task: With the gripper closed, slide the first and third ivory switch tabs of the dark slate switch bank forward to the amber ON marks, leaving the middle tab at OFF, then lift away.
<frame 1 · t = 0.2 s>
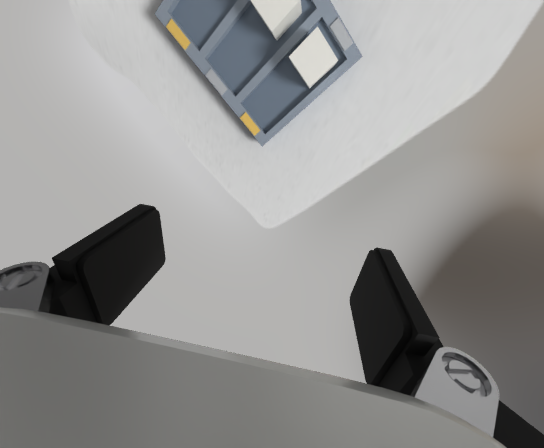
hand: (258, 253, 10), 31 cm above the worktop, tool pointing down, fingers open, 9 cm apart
switch bank: (261, 40, 31), on the worktop
tab 3: (312, 61, 28), point 4 cm above the worktop, slide at 0.0 cm
tab 2: (276, 5, 26), point 4 cm above the worktop, slide at 0.0 cm
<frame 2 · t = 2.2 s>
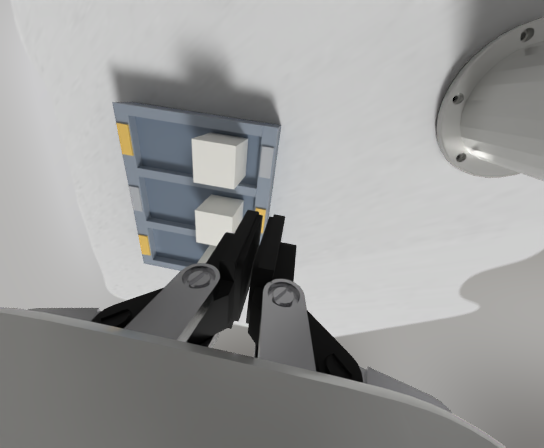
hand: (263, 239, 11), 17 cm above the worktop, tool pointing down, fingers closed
switch bank: (206, 200, 30), on the worktop
tab 1: (221, 159, 22), point 4 cm above the worktop, slide at 0.0 cm
tab 3: (219, 267, 29), point 4 cm above the worktop, slide at 0.0 cm
tab 2: (220, 220, 26), point 4 cm above the worktop, slide at 0.0 cm
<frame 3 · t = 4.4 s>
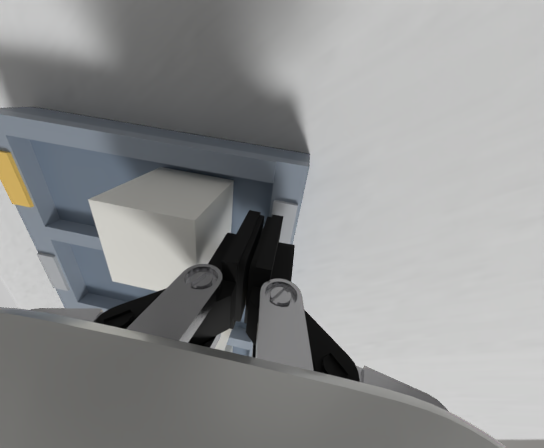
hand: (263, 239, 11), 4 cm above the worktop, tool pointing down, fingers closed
switch bank: (178, 266, 18), on the worktop
tab 1: (177, 226, 11), point 4 cm above the worktop, slide at 0.6 cm, touching gripper
tab 3: (198, 379, 18), point 4 cm above the worktop, slide at 0.0 cm
tab 2: (195, 322, 14), point 4 cm above the worktop, slide at 0.0 cm
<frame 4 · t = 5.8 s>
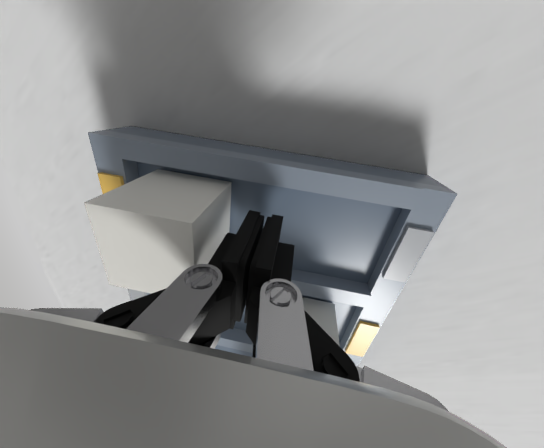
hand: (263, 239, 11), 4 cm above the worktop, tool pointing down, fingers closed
switch bank: (255, 285, 18), on the worktop
tab 1: (175, 229, 11), point 4 cm above the worktop, slide at 7.2 cm, touching gripper
tab 2: (296, 348, 14), point 4 cm above the worktop, slide at 0.0 cm
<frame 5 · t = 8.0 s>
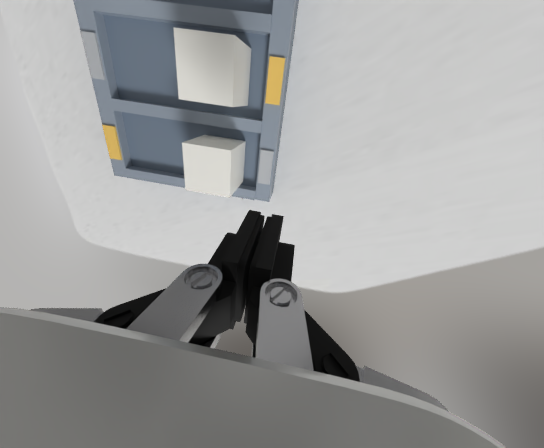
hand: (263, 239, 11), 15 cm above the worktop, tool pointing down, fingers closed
switch bank: (197, 72, 21), on the worktop
tab 3: (216, 164, 21), point 4 cm above the worktop, slide at 0.0 cm
tab 2: (216, 72, 17), point 4 cm above the worktop, slide at 0.0 cm
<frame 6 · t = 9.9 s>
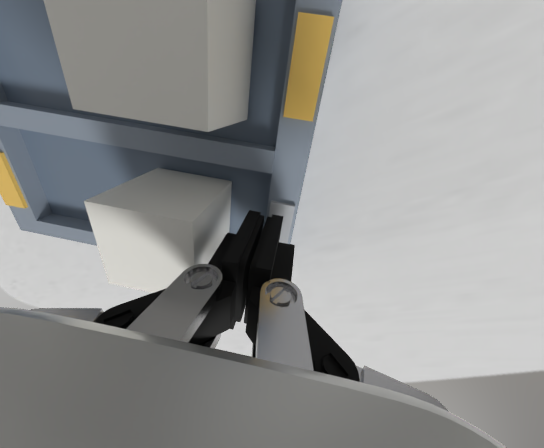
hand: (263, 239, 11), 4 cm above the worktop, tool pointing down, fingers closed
switch bank: (154, 55, 11), on the worktop
tab 3: (175, 228, 11), point 4 cm above the worktop, slide at 0.6 cm, touching gripper
tab 2: (175, 47, 7), point 4 cm above the worktop, slide at 0.0 cm
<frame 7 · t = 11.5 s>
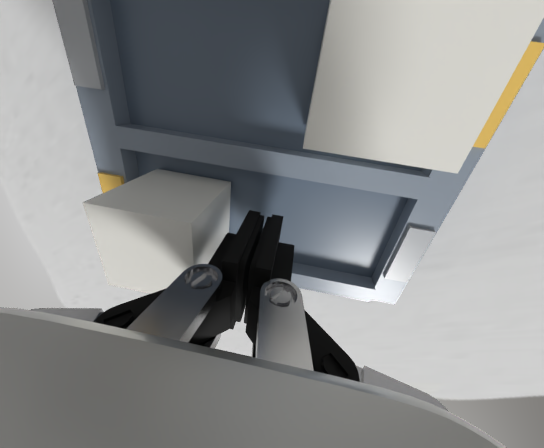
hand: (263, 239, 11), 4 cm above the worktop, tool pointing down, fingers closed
switch bank: (283, 75, 11), on the worktop
tab 3: (174, 229, 11), point 4 cm above the worktop, slide at 7.3 cm, touching gripper
tab 2: (382, 77, 7), point 4 cm above the worktop, slide at 0.0 cm
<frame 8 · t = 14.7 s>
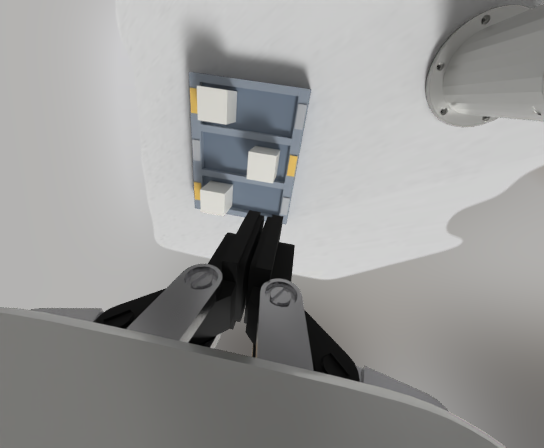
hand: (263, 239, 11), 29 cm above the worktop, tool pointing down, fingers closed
switch bank: (248, 154, 38), on the worktop
tab 1: (218, 105, 31), point 4 cm above the worktop, slide at 7.3 cm
tab 3: (217, 198, 38), point 4 cm above the worktop, slide at 7.3 cm
tab 2: (263, 164, 34), point 4 cm above the worktop, slide at 0.0 cm
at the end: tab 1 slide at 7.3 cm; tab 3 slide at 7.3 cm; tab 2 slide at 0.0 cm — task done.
